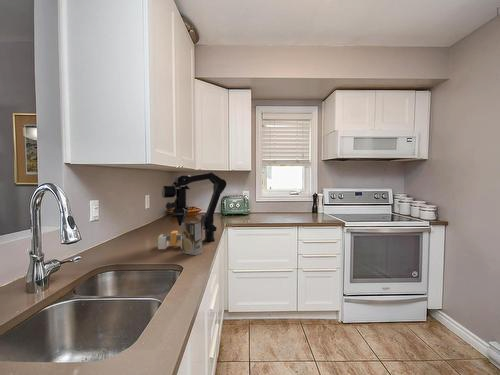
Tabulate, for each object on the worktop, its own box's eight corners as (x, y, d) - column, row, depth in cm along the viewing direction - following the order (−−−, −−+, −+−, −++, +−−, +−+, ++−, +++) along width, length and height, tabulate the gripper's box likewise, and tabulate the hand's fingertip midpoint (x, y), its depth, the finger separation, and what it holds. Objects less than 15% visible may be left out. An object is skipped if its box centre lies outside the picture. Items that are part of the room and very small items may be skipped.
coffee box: (203, 252, 135) (203, 222, 134) (195, 255, 129) (195, 224, 128) (189, 249, 139) (189, 220, 138) (181, 252, 133) (181, 222, 133)
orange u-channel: (172, 242, 147) (172, 230, 147) (178, 242, 148) (178, 230, 147) (170, 246, 140) (170, 233, 140) (176, 246, 141) (176, 233, 140)
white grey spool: (158, 249, 140) (158, 236, 139) (161, 245, 147) (160, 233, 146) (188, 248, 142) (188, 235, 141) (189, 245, 148) (189, 233, 148)
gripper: (169, 196, 157) (170, 221, 158) (163, 198, 138) (163, 227, 139) (188, 196, 158) (188, 221, 159) (184, 198, 140) (184, 227, 140)
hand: (181, 223), depth 149 cm, fingers open, 9 cm apart
